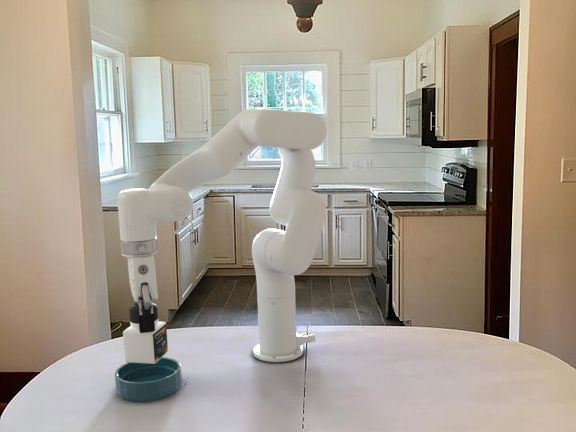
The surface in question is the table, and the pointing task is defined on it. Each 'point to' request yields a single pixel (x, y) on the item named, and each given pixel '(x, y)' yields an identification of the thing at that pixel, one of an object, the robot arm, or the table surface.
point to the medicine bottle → (144, 339)
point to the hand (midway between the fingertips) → (144, 325)
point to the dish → (148, 380)
